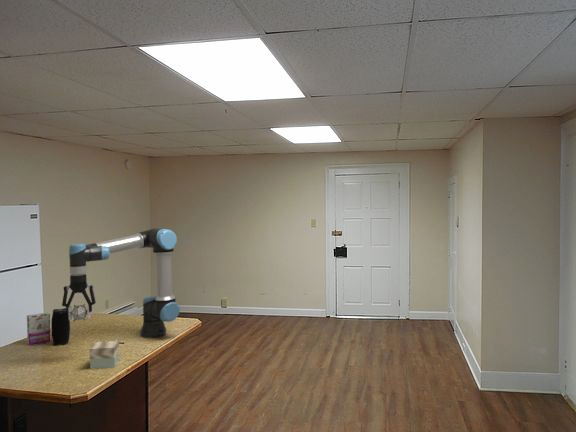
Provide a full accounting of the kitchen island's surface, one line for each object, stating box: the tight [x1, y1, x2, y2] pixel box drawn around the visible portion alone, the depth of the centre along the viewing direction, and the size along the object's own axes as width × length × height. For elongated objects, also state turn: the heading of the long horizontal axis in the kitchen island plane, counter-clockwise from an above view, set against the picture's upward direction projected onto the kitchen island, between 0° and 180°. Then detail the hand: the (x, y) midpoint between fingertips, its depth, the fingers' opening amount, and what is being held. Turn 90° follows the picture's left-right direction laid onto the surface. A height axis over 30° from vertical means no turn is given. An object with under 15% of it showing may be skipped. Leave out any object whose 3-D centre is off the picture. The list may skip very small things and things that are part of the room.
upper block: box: [89, 340, 120, 360], centre depth 221 cm, size 11×11×5 cm
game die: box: [69, 303, 87, 322], centre depth 227 cm, size 9×8×10 cm
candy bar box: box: [26, 312, 51, 346], centre depth 257 cm, size 11×5×16 cm, turn 129°
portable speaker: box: [50, 307, 71, 346], centre depth 255 cm, size 9×9×20 cm
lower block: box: [89, 352, 119, 370], centre depth 221 cm, size 11×11×5 cm
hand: (79, 318), depth 227 cm, fingers closed on game die, 8 cm apart
